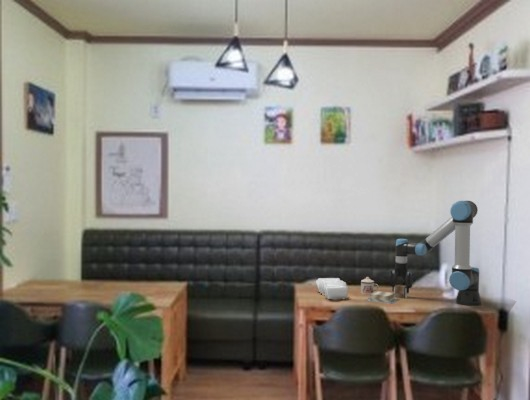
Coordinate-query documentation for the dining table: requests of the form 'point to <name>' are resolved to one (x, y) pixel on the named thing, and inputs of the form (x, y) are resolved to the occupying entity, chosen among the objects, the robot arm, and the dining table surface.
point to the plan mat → (384, 302)
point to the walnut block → (400, 291)
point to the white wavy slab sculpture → (332, 288)
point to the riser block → (382, 296)
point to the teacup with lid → (368, 286)
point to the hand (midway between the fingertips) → (400, 297)
